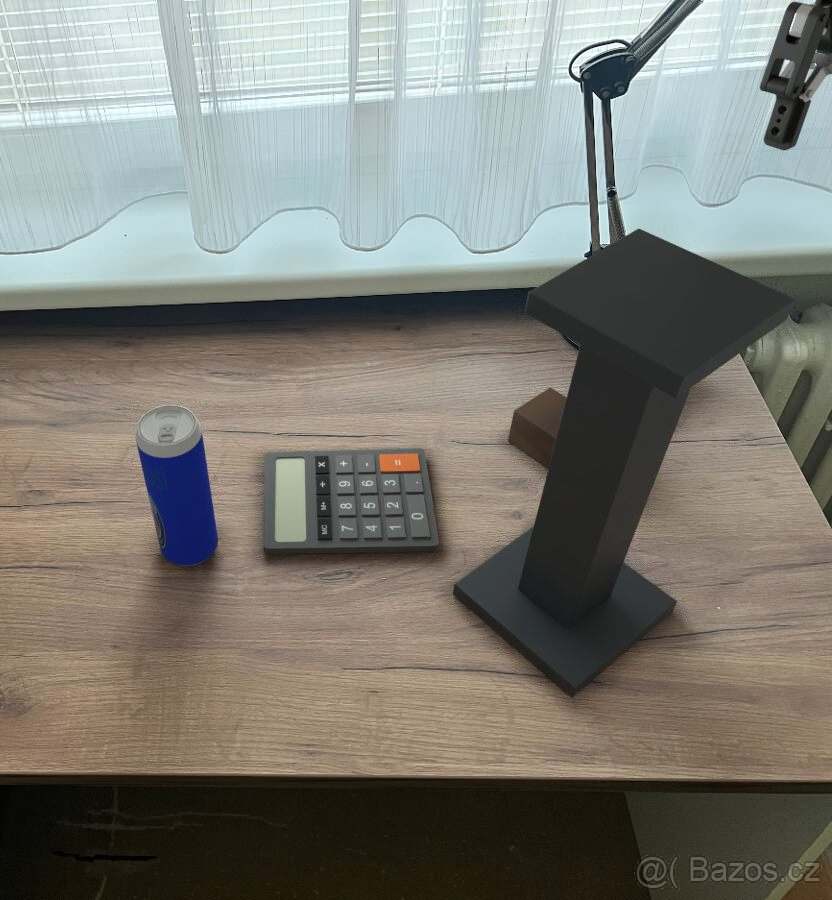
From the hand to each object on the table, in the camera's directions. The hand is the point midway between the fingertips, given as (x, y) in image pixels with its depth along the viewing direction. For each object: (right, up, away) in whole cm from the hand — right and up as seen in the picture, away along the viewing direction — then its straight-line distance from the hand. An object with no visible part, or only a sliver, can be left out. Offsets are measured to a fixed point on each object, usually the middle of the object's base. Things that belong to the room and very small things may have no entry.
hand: (812, 132), depth 69 cm
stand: (-19, -37, +2) cm, 42 cm away
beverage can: (-49, -34, +9) cm, 60 cm away
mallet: (-9, -22, +16) cm, 29 cm away
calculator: (-35, -30, +11) cm, 47 cm away
